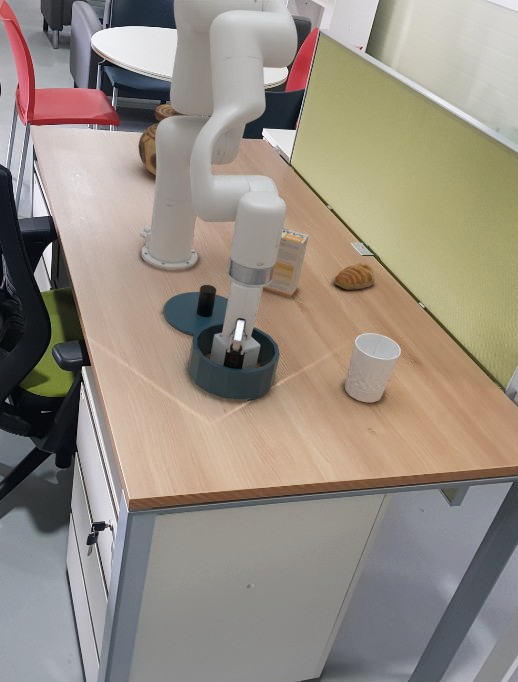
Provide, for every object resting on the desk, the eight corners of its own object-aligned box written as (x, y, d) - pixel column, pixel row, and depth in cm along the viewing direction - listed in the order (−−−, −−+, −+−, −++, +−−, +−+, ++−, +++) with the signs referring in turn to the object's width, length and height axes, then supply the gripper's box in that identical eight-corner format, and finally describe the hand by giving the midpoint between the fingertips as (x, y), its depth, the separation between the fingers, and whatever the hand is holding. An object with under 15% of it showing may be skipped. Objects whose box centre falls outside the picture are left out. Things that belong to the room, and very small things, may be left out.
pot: (170, 369, 133) (174, 340, 129) (227, 341, 142) (232, 313, 139) (234, 413, 125) (240, 383, 121) (289, 380, 134) (296, 351, 131)
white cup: (387, 385, 136) (403, 340, 131) (382, 410, 130) (398, 364, 124) (344, 373, 138) (358, 328, 132) (338, 397, 132) (352, 351, 126)
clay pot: (215, 181, 199) (195, 109, 188) (148, 199, 202) (125, 129, 191) (213, 155, 214) (194, 87, 203) (151, 172, 218) (129, 106, 206)
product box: (225, 386, 130) (232, 352, 126) (207, 367, 134) (213, 333, 130) (254, 379, 133) (261, 345, 129) (235, 360, 137) (241, 326, 133)
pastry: (349, 295, 162) (353, 280, 160) (326, 281, 166) (329, 266, 164) (376, 285, 168) (380, 270, 165) (353, 272, 172) (357, 257, 169)
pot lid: (146, 312, 148) (149, 283, 144) (202, 288, 158) (206, 260, 154) (205, 350, 139) (210, 320, 135) (260, 323, 149) (266, 294, 145)
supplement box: (297, 289, 162) (310, 234, 155) (290, 298, 158) (303, 243, 151) (262, 278, 164) (273, 223, 157) (254, 287, 161) (265, 231, 153)
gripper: (233, 242, 128) (220, 326, 138) (221, 289, 114) (207, 379, 124) (277, 249, 128) (260, 333, 137) (270, 298, 114) (251, 387, 123)
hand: (235, 355), depth 131 cm, fingers open, 9 cm apart
